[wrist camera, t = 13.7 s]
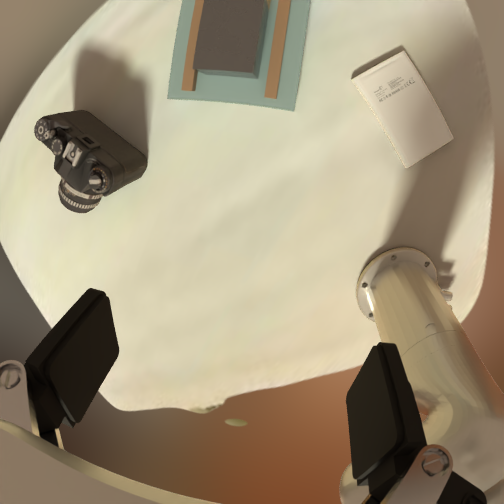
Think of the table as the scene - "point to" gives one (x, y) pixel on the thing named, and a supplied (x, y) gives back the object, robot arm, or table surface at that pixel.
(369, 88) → the external hard drive
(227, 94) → the stand
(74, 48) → the table surface
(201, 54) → the block
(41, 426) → the robot arm
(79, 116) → the camera
